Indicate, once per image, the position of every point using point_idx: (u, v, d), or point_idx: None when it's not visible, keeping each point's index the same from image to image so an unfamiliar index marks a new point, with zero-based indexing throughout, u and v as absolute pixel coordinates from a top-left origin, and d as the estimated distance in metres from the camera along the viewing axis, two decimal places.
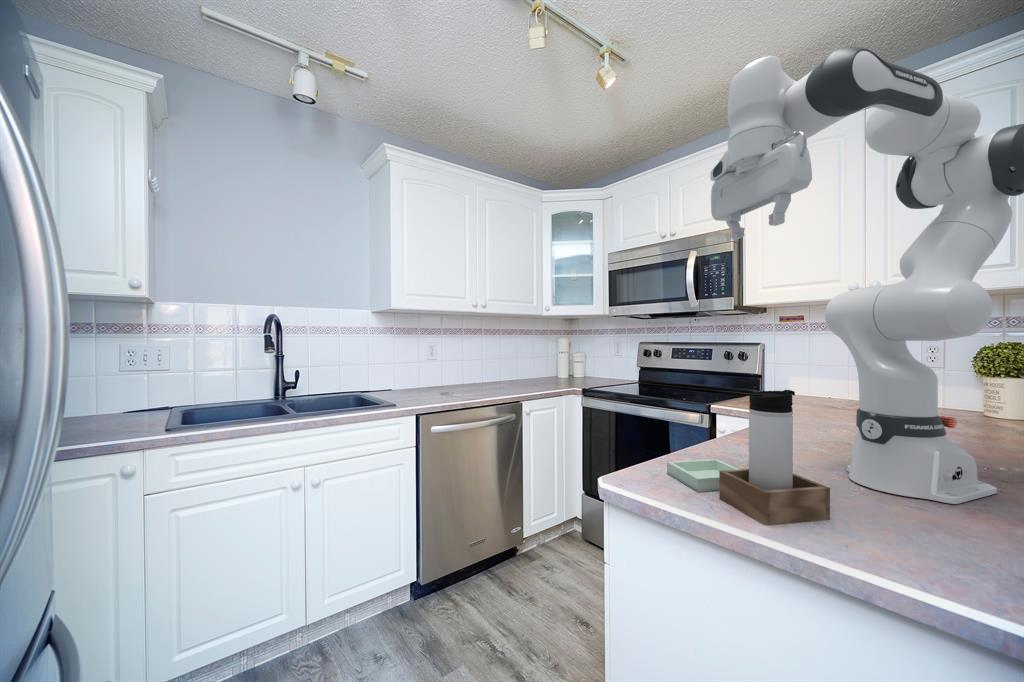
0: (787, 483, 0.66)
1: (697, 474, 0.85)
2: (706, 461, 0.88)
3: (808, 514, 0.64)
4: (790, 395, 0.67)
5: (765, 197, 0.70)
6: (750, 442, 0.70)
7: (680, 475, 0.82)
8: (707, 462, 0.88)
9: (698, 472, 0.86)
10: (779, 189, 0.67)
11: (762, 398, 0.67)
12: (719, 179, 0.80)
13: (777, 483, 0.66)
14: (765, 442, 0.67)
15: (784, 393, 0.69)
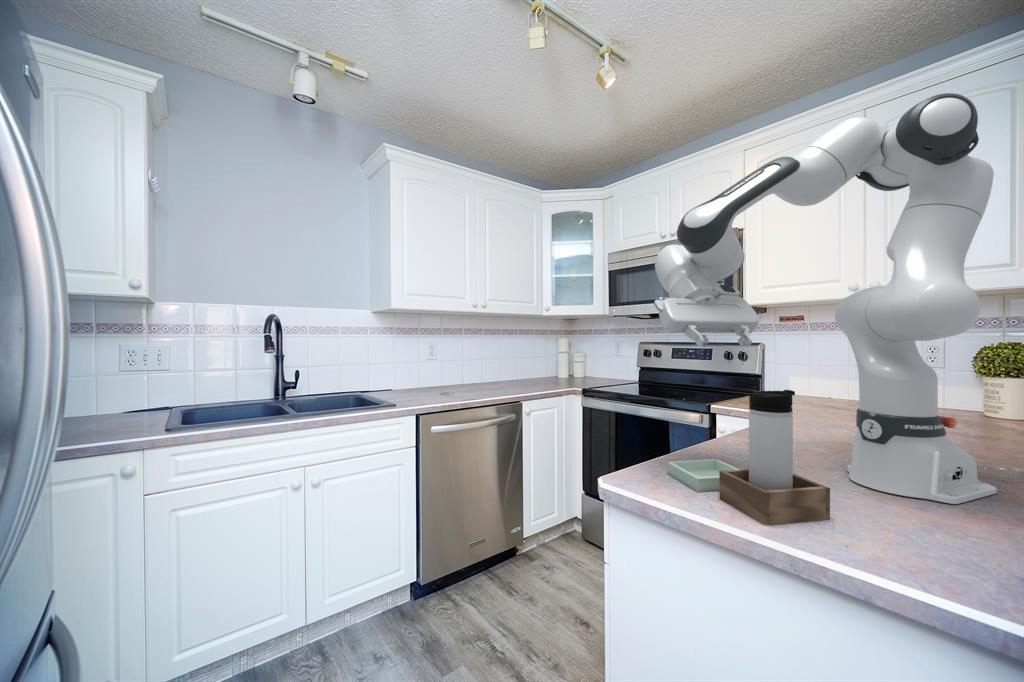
0: (787, 483, 0.66)
1: (697, 474, 0.85)
2: (706, 461, 0.88)
3: (808, 514, 0.64)
4: (790, 395, 0.67)
5: None
6: (750, 442, 0.70)
7: (680, 475, 0.82)
8: (707, 462, 0.88)
9: (698, 472, 0.86)
10: (678, 332, 0.83)
11: (762, 398, 0.67)
12: None
13: (777, 483, 0.66)
14: (765, 442, 0.67)
15: (784, 393, 0.69)
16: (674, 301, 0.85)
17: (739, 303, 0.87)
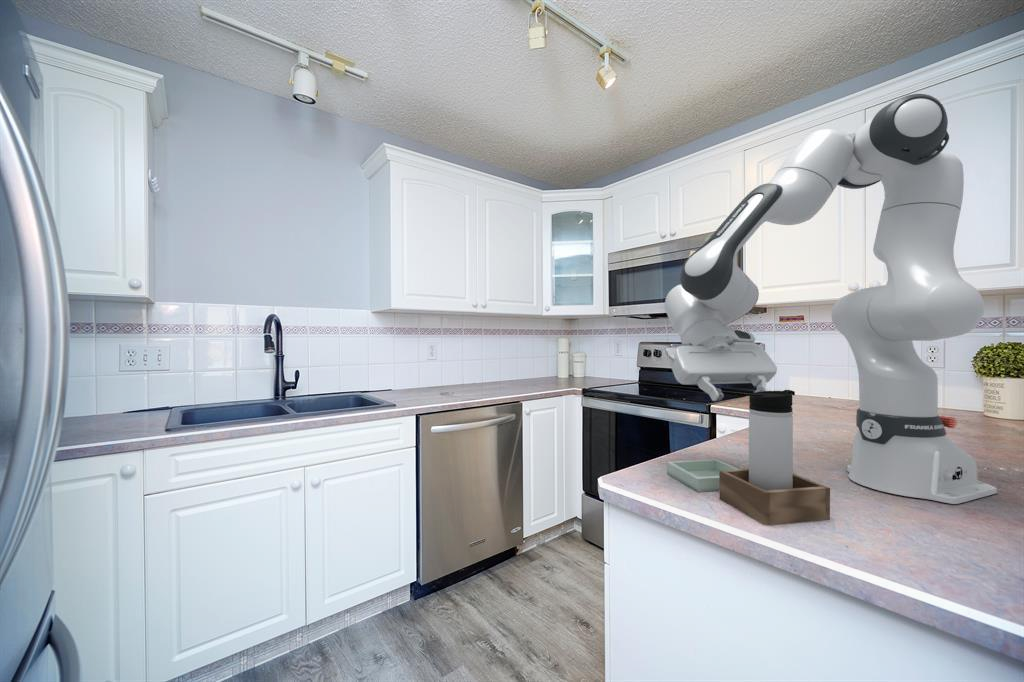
0: (787, 483, 0.66)
1: (697, 474, 0.85)
2: (706, 461, 0.88)
3: (808, 514, 0.64)
4: (790, 395, 0.67)
5: None
6: (750, 442, 0.70)
7: (680, 475, 0.82)
8: (707, 462, 0.88)
9: (698, 472, 0.86)
10: (691, 383, 0.79)
11: (762, 398, 0.67)
12: None
13: (777, 483, 0.66)
14: (765, 442, 0.67)
15: (784, 393, 0.69)
16: (687, 349, 0.81)
17: (755, 351, 0.83)
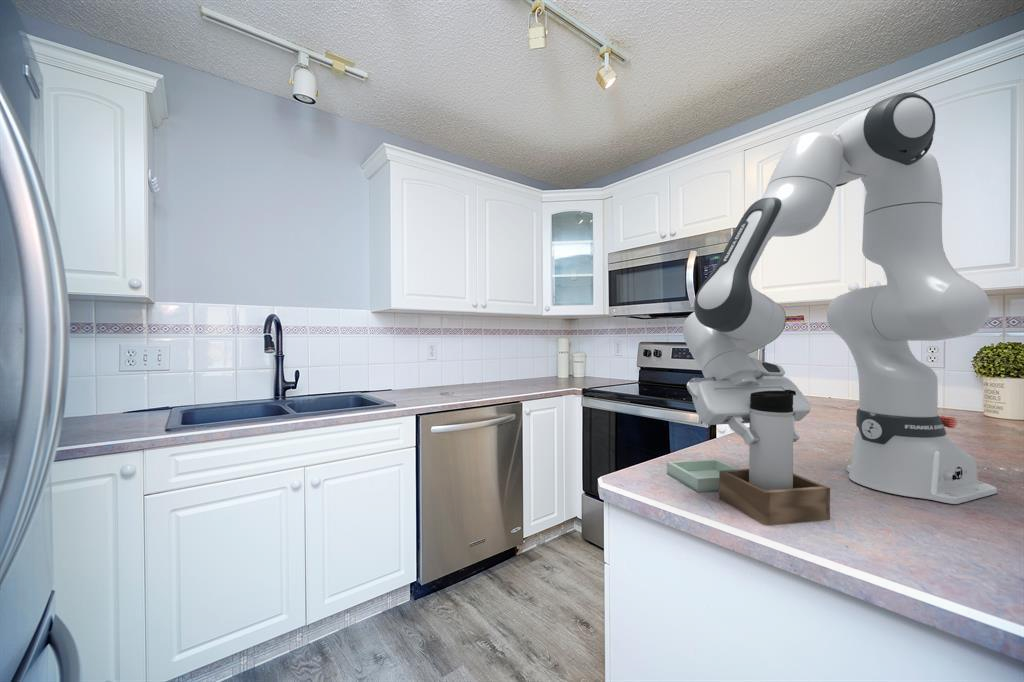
0: (787, 483, 0.66)
1: (697, 474, 0.85)
2: (706, 461, 0.88)
3: (808, 514, 0.64)
4: (791, 395, 0.67)
5: None
6: None
7: (680, 475, 0.82)
8: (707, 462, 0.88)
9: (698, 472, 0.86)
10: None
11: (763, 398, 0.67)
12: None
13: (777, 482, 0.66)
14: (766, 442, 0.67)
15: (785, 393, 0.69)
16: (711, 385, 0.73)
17: (785, 386, 0.75)
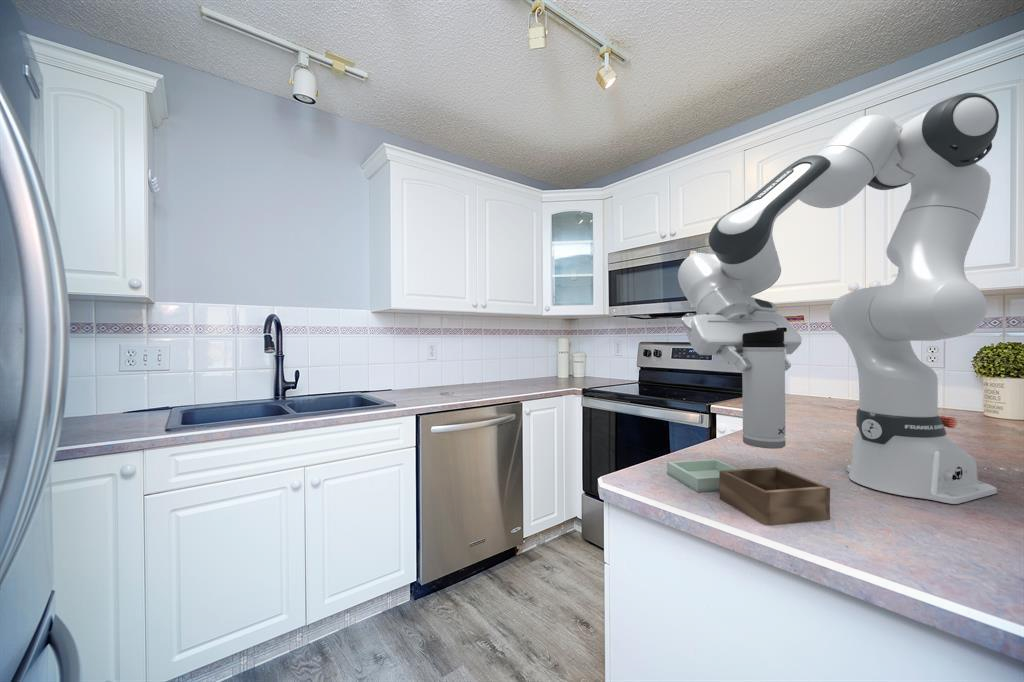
0: (779, 417, 0.68)
1: (697, 474, 0.85)
2: (706, 461, 0.88)
3: (808, 514, 0.64)
4: (782, 330, 0.68)
5: None
6: (743, 379, 0.71)
7: (680, 475, 0.82)
8: (707, 462, 0.88)
9: (698, 472, 0.86)
10: (709, 354, 0.73)
11: (754, 334, 0.69)
12: None
13: (770, 416, 0.68)
14: (758, 377, 0.68)
15: None
16: (705, 318, 0.75)
17: (777, 320, 0.77)
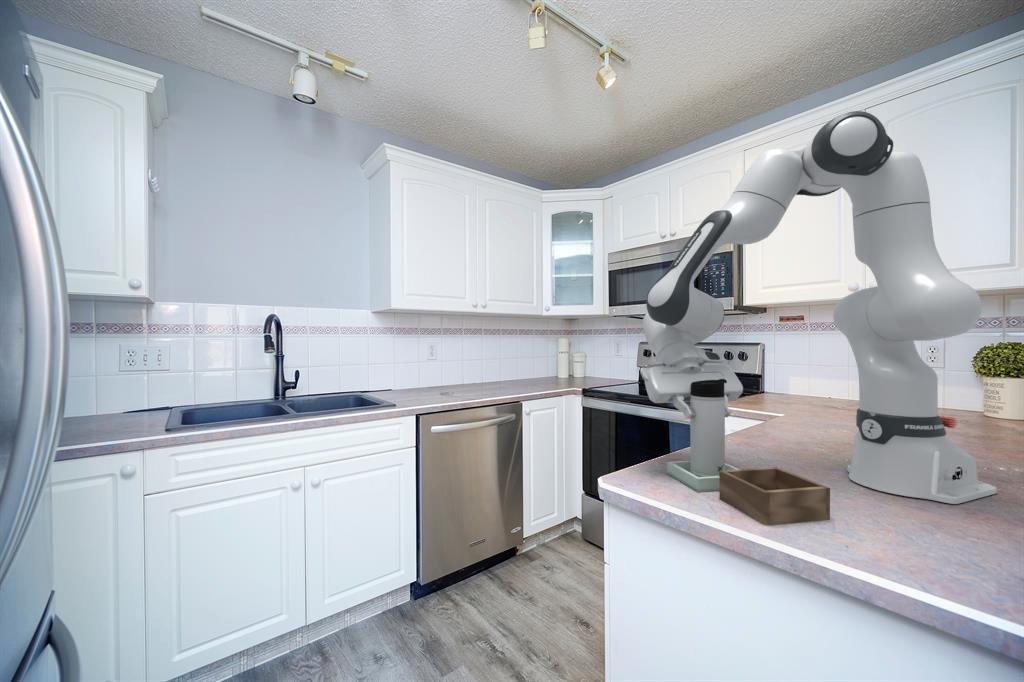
0: (718, 456, 0.80)
1: None
2: None
3: (808, 514, 0.64)
4: (721, 383, 0.80)
5: None
6: (690, 422, 0.83)
7: (680, 475, 0.82)
8: None
9: None
10: None
11: (698, 385, 0.81)
12: None
13: (710, 456, 0.80)
14: (701, 422, 0.80)
15: (719, 381, 0.83)
16: (659, 370, 0.87)
17: (724, 371, 0.89)
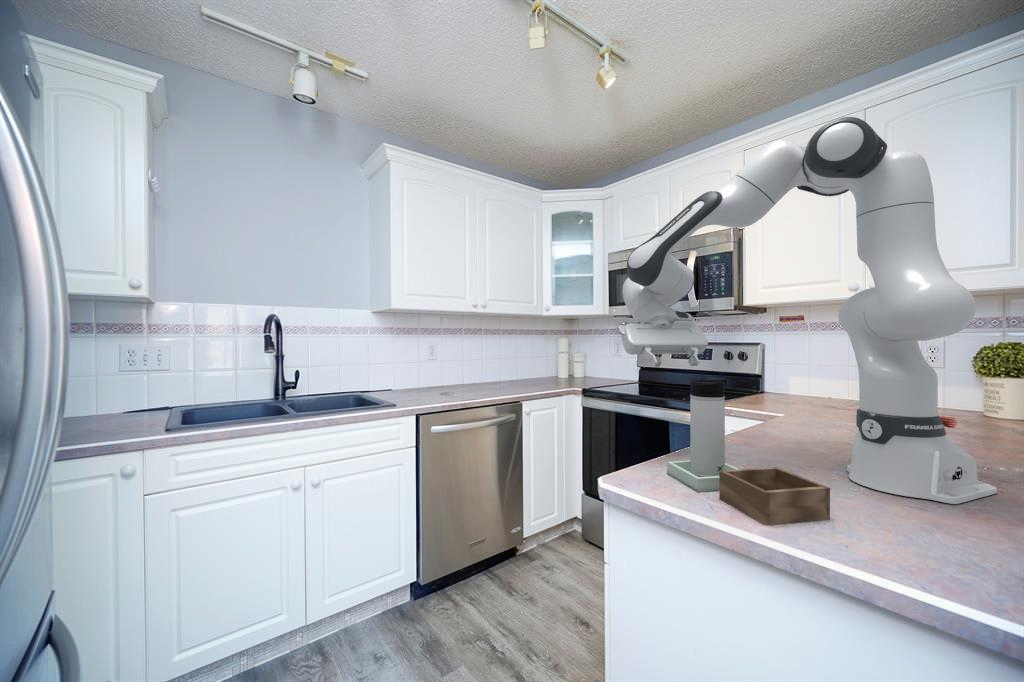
0: (718, 456, 0.80)
1: None
2: None
3: (808, 514, 0.64)
4: (721, 383, 0.80)
5: None
6: (690, 422, 0.83)
7: (680, 475, 0.82)
8: None
9: None
10: None
11: (698, 385, 0.81)
12: None
13: (710, 456, 0.80)
14: (701, 422, 0.80)
15: (719, 381, 0.83)
16: (634, 326, 0.98)
17: (692, 328, 1.00)
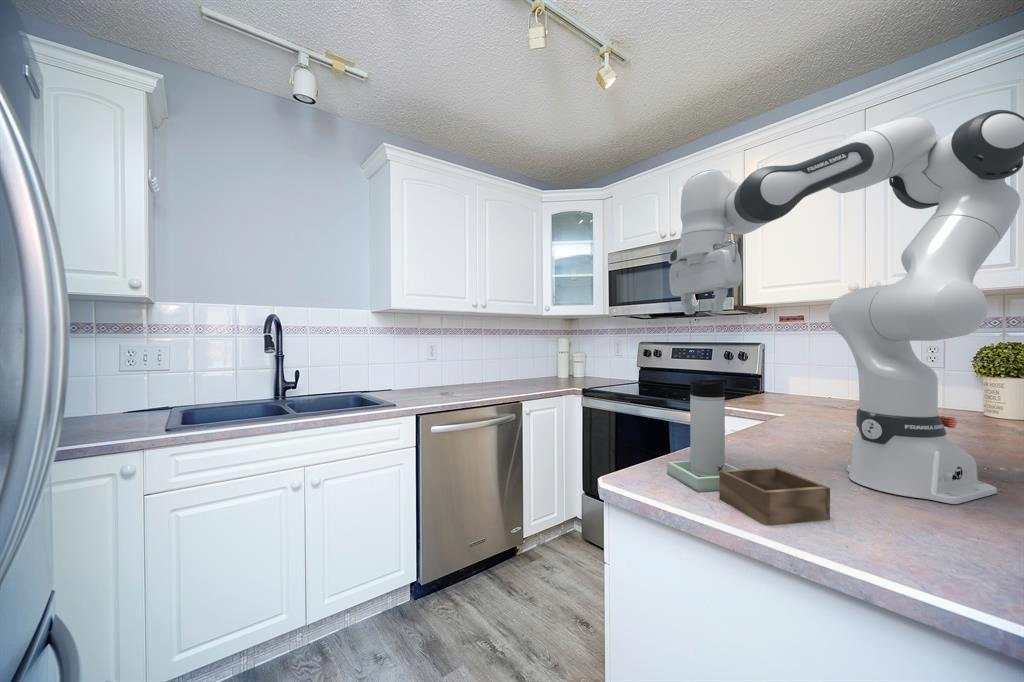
0: (718, 456, 0.80)
1: None
2: None
3: (808, 514, 0.64)
4: (721, 383, 0.80)
5: (708, 288, 0.85)
6: (690, 422, 0.83)
7: (680, 475, 0.82)
8: None
9: None
10: (717, 285, 0.81)
11: (698, 385, 0.81)
12: (675, 263, 0.94)
13: (710, 456, 0.80)
14: (701, 422, 0.80)
15: (719, 381, 0.83)
16: None
17: None
